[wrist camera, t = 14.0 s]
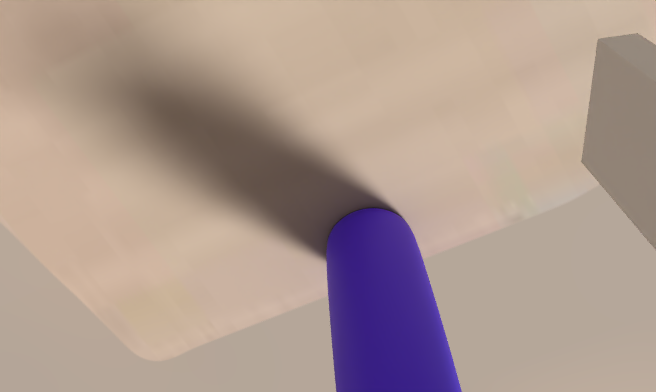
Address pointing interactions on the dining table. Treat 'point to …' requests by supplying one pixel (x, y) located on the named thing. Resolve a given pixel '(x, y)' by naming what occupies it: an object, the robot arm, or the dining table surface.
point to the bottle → (384, 309)
